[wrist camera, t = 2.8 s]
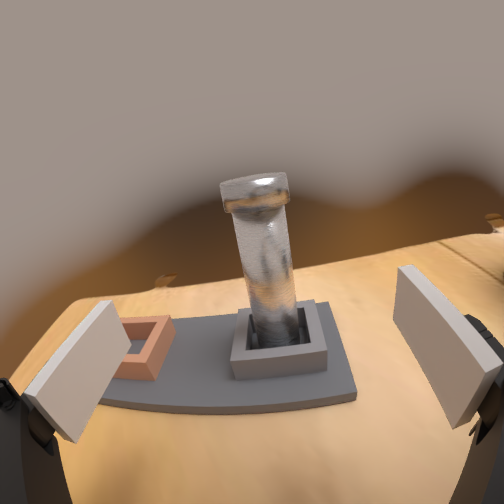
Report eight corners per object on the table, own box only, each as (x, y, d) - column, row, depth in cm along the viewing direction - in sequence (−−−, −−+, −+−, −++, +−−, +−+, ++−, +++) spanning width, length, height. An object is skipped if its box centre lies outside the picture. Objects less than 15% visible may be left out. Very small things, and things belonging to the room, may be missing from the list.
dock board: (328, 309, 32) (327, 283, 31) (356, 400, 19) (360, 371, 18) (122, 328, 35) (112, 306, 34) (76, 399, 22) (59, 375, 21)
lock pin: (303, 328, 28) (284, 170, 22) (308, 361, 23) (288, 176, 17) (255, 334, 28) (224, 179, 23) (253, 367, 24) (213, 188, 18)
